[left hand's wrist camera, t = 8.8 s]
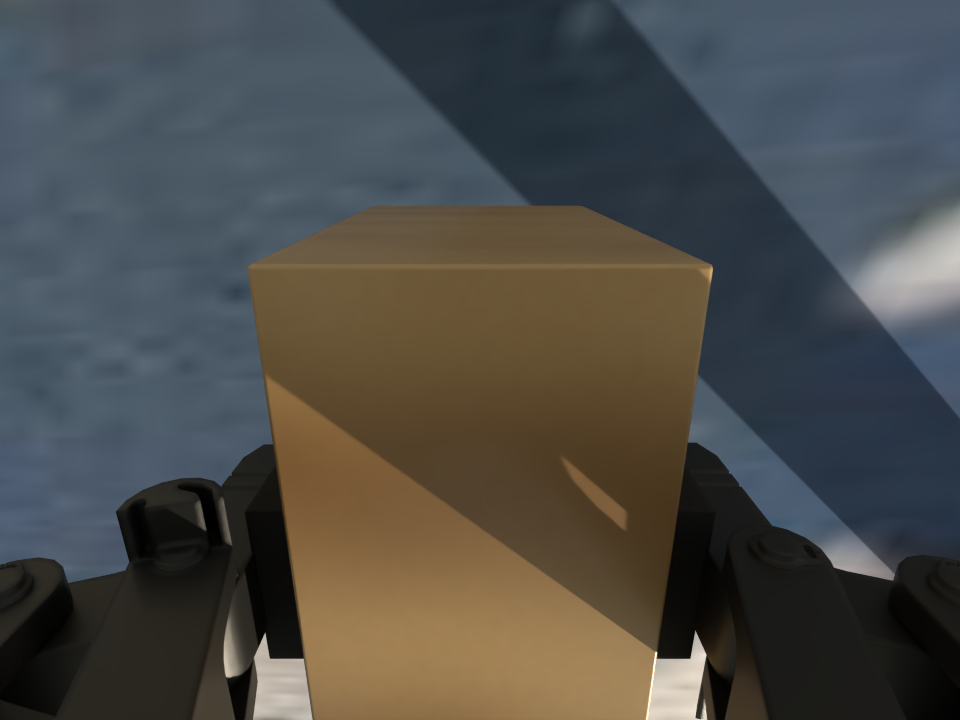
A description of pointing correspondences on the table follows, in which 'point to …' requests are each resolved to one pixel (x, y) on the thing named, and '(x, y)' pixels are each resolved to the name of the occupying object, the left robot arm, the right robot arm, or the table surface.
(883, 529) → the table surface
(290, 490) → the beam
